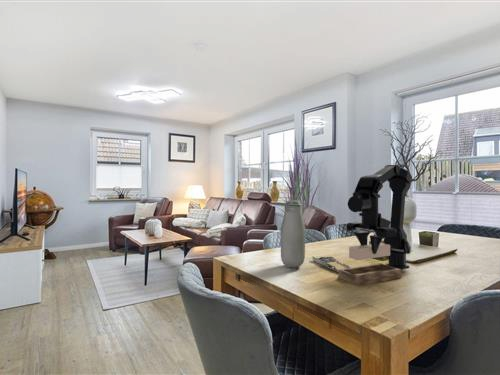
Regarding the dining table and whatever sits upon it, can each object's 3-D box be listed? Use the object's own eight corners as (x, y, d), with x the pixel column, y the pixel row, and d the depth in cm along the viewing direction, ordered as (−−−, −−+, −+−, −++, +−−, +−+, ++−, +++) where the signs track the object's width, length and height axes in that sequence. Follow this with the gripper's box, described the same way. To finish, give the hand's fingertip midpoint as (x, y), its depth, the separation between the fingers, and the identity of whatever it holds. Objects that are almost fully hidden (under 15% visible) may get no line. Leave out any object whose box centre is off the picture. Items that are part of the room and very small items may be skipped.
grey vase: (289, 271, 117) (289, 201, 117) (276, 265, 126) (276, 199, 126) (309, 268, 121) (309, 200, 121) (296, 262, 130) (296, 199, 130)
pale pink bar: (357, 260, 104) (357, 248, 104) (349, 257, 108) (349, 246, 108) (390, 255, 111) (390, 244, 110) (381, 253, 114) (381, 242, 114)
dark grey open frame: (337, 275, 113) (359, 274, 115) (337, 266, 113) (359, 265, 116) (311, 262, 134) (331, 261, 136) (311, 255, 134) (331, 254, 137)
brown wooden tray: (379, 270, 118) (379, 262, 118) (401, 277, 109) (401, 269, 109) (338, 277, 109) (338, 269, 109) (358, 286, 100) (358, 277, 100)
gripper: (407, 211, 104) (407, 255, 104) (366, 207, 121) (366, 245, 121) (384, 213, 99) (384, 259, 99) (345, 208, 116) (345, 248, 116)
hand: (369, 252), depth 109 cm, fingers closed on pale pink bar, 4 cm apart
